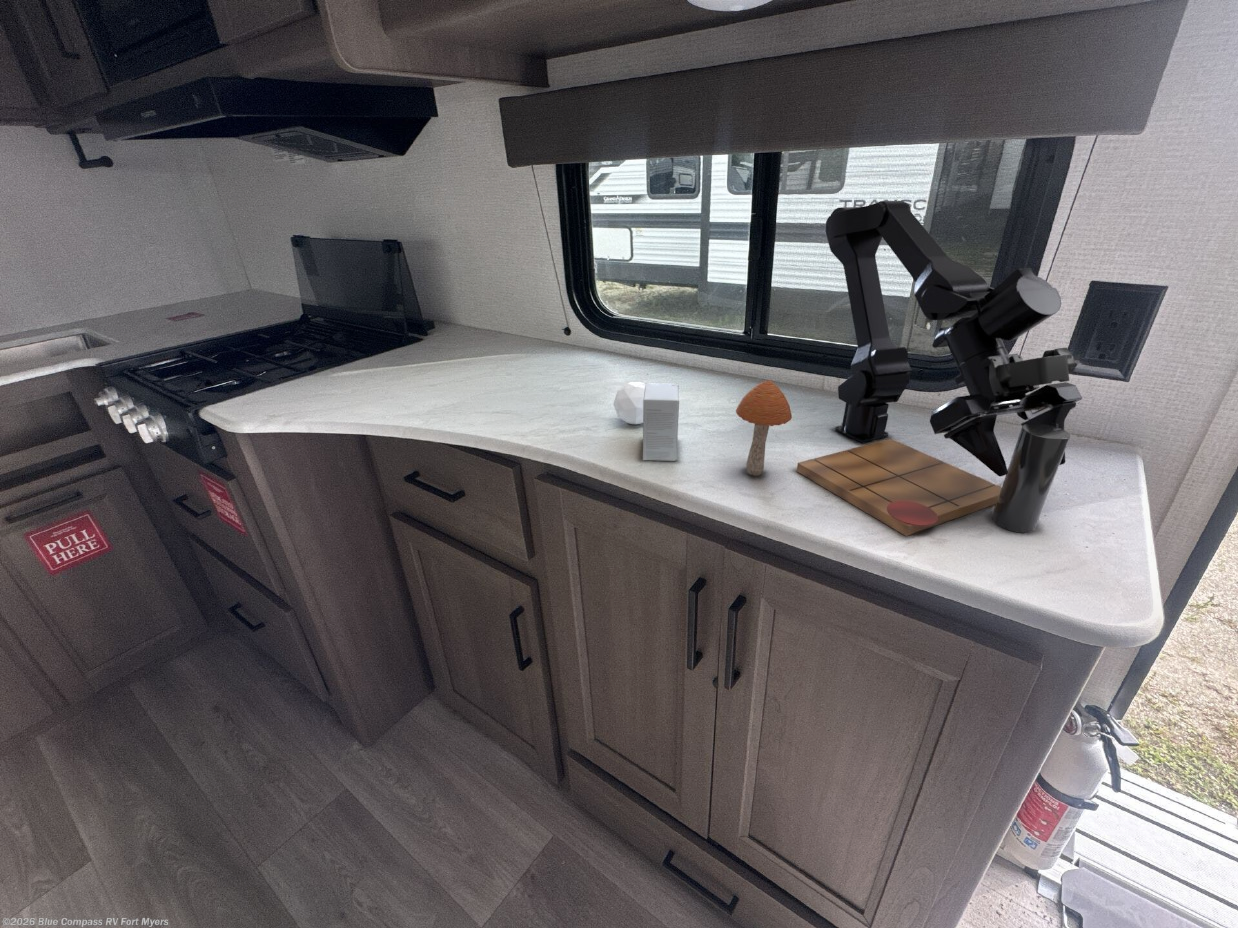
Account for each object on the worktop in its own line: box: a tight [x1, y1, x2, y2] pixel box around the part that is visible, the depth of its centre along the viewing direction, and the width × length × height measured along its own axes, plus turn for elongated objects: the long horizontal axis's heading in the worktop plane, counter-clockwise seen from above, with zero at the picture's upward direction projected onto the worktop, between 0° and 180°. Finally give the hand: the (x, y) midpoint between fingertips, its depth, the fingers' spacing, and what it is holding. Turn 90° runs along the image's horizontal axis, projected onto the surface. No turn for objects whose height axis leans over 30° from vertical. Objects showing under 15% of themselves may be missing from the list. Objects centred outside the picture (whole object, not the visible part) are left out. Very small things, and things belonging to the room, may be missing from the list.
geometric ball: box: [613, 382, 646, 425], centre depth 104 cm, size 8×8×8 cm
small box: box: [642, 382, 680, 462], centre depth 92 cm, size 8×6×10 cm
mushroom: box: [735, 379, 793, 477], centre depth 83 cm, size 8×8×15 cm
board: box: [796, 438, 1002, 537], centre depth 82 cm, size 21×20×2 cm
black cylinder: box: [991, 423, 1071, 534], centre depth 70 cm, size 5×5×13 cm
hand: (1032, 469), depth 70 cm, fingers open, 9 cm apart
